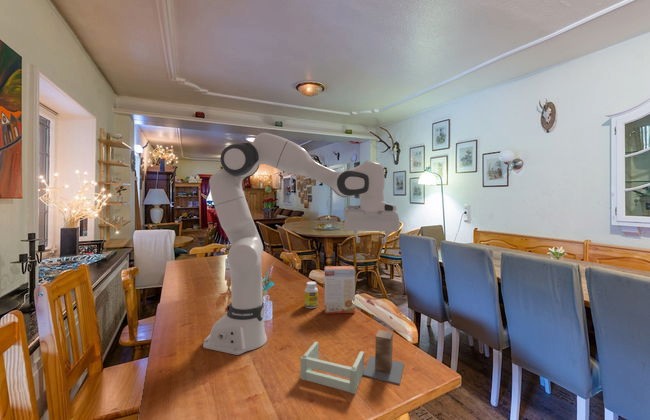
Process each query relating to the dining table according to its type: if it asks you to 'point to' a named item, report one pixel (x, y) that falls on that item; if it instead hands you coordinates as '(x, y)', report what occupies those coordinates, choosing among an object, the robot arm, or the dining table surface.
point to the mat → (392, 377)
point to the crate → (331, 371)
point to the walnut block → (383, 351)
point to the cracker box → (339, 289)
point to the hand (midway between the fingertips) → (370, 242)
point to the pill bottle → (311, 295)
